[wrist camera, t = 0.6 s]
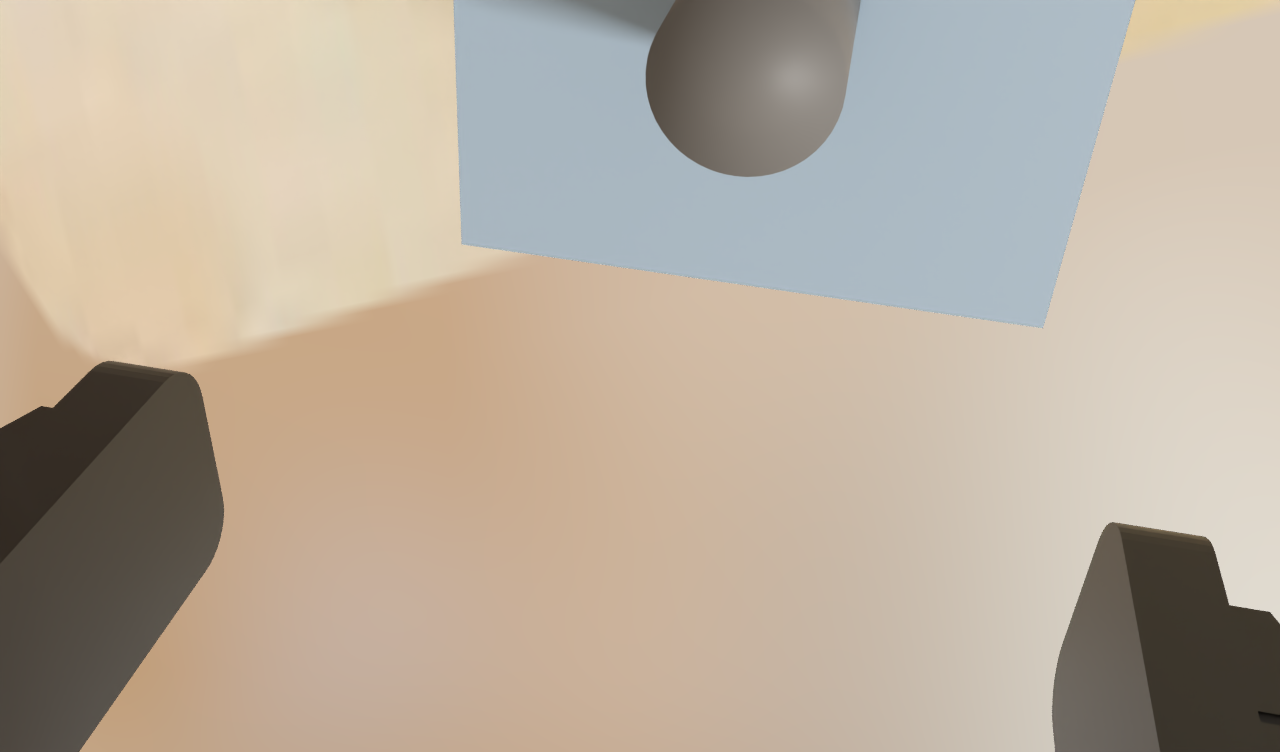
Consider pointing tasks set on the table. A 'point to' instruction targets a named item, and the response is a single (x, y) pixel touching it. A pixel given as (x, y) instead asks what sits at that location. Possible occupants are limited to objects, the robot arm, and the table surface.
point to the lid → (790, 140)
